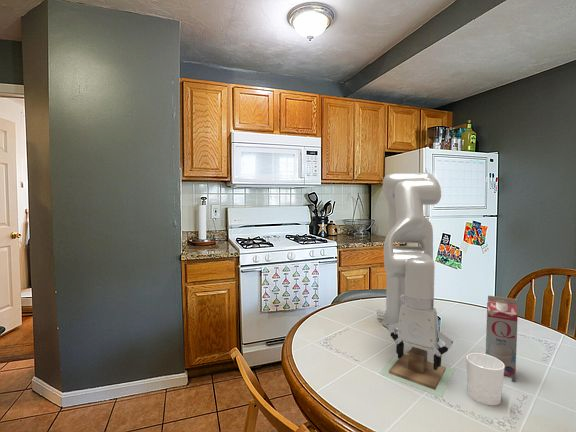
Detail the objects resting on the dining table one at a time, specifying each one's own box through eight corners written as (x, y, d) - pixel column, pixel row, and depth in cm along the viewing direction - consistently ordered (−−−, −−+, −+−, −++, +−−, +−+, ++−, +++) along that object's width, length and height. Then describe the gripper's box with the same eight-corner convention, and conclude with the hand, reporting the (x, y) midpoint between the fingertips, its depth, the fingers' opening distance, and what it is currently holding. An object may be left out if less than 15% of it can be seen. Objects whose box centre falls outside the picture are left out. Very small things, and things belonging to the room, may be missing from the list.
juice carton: (515, 382, 82) (518, 302, 81) (485, 374, 86) (488, 298, 85) (512, 370, 88) (515, 296, 87) (485, 364, 91) (487, 292, 90)
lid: (388, 373, 85) (389, 352, 84) (403, 356, 94) (403, 337, 94) (435, 389, 77) (435, 367, 77) (445, 369, 86) (446, 349, 86)
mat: (379, 377, 84) (379, 373, 84) (398, 354, 97) (398, 351, 97) (441, 401, 74) (441, 397, 74) (454, 372, 87) (454, 369, 87)
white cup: (497, 393, 77) (498, 355, 77) (508, 414, 70) (509, 372, 69) (462, 387, 80) (463, 350, 79) (469, 406, 72) (470, 366, 72)
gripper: (383, 299, 87) (382, 357, 88) (450, 313, 76) (448, 379, 77) (393, 293, 93) (392, 347, 94) (456, 305, 82) (454, 367, 83)
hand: (417, 362), depth 85 cm, fingers open, 9 cm apart
